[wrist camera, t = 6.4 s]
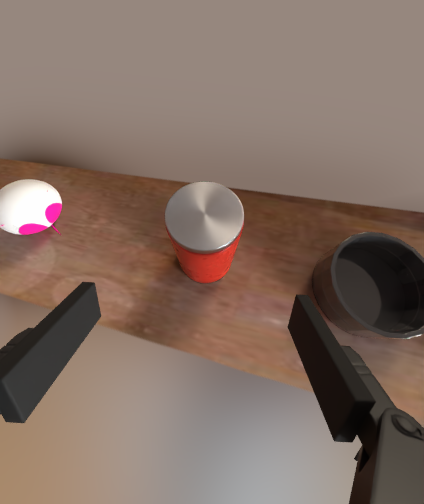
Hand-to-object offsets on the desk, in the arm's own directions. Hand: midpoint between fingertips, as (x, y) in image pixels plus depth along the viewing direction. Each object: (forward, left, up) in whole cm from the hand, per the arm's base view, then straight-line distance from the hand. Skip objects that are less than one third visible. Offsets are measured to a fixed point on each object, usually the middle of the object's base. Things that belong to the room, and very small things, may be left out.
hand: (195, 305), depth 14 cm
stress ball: (+24, +4, -12) cm, 27 cm away
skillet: (-13, -15, -12) cm, 23 cm away
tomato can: (+4, -6, -12) cm, 14 cm away
